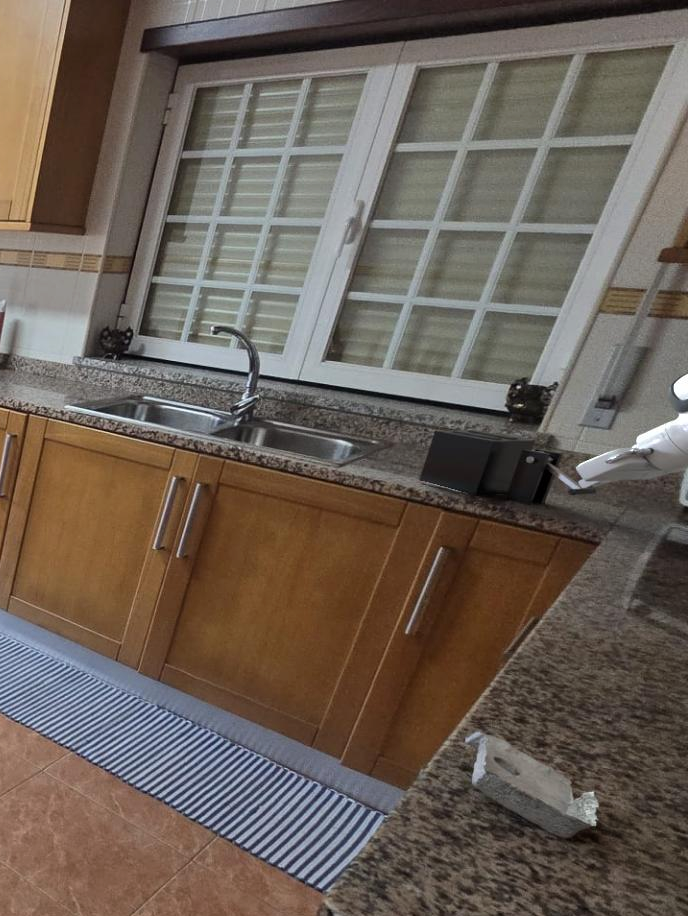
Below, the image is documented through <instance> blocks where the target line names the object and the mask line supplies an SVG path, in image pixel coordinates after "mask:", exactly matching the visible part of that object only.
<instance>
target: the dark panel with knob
mask: <svg viewBox="0 0 688 916" xmlns="http://www.w3.org/2000/svg"><path fill="white" fill-rule="evenodd" d="M537 451H543V452H544V453H543V452H537ZM563 455H564V453H562V452H558V451H551V450H546V449H541V448H535V450H533V449H532V450H526V449H525V450H522V453H521V456H520V458H519V461H518V464H517V467H516V470H515V472H514V475H513V478H512V481H511V484H510V486H509V489H508V492H507V495H505V497H504V500H506V501H510V502H514V503H518V504H521V505H526V506H532V504H533V503H534V504H537V505H545V503H546V500H547V498H548V495H549V492H550V489H551V487H552V484H553V482H554V479H555V477H556V476H555V475H554V474H552V473H551V472H550V471H548V470H547V469H546V468H545V467H546V464H547V461H548V458H549V456H550V457H551V458H552V459H554V460H553V461H552V462H550V463H551V464H552V465H554V466H555V467H556V468H558V469H559V466H560V463H561V461H562V458H563Z"/></svg>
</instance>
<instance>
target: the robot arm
mask: <svg viewBox="0 0 688 916" xmlns="http://www.w3.org/2000/svg"><path fill="white" fill-rule="evenodd" d="M667 392H668V393H667V400H668V402H669V404H670V406H671V407H672V410H674V411H675V412H677V414H678V417H677V418H676V419H673V420H671V421H668V422H665V423H664V424H661V425H659V426H657V427H654V428H652V429H649V430H648V431H645V432H644V433H641V434H639V435H638V436H637V437H636V444H634V445H632V447H622V448H616V449H614V450H611V451H608V452H605V453H602V454H600V455H598V456H595V457H593V458H590V459H588V460H586V461H583V462H581V463H579V464H578V465H577V466H576V467H575V470H576V472H577V474H578V475H579V476H580V477H581V478H582V479H580V480H579V481H578V482H577V483H578V484H579V485H580V486H581V487H582V488H594V489H596V488H597V487H599V486H602V485H605V484H610V483H613V482H616V481H635V480H636V481H637V480H651V479H655V478H659V477H663V476H665V475H668V474H674V473H678V472H680V471H684V470H686V469H688V371H687V372H685V373H684V374H682V375H680V376H678V377H677V378H676V379H675V380H674V381H673V382H672V383H671V385H670V387H669V388H668V391H667Z"/></svg>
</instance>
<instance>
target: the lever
mask: <svg viewBox="0 0 688 916" xmlns="http://www.w3.org/2000/svg"><path fill="white" fill-rule="evenodd" d="M537 452H543V451H537ZM543 453H544V452H543ZM553 460H554V459H552V458H551V457H550V456H549V458H548V461H547V464H546V467H545V468H546V469H547V470H548V471H550V472H551V473H552V474H554V475H555V477H556V478H557V479H558V480H560V481H561V482H563V483H564V484H565V485H566V486H568V487H569V488H570V489H569V490H568V495H569V496H583V495H585V496H587V495H594V494H596V493H597V489H596V488H582V487H581V486H580V485H579V483H578V482H577V481H575V480H574V479H572V478H571V477H569V476H568V475H567V474H566V473H565V472H564V471H562V470H560V469H559V467H558V468H556V467H555V466H554V465H552V464H551V463H550V462H552V461H553Z"/></svg>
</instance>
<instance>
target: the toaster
mask: <svg viewBox="0 0 688 916" xmlns="http://www.w3.org/2000/svg"><path fill="white" fill-rule="evenodd" d="M535 443H536V439H530V438H525V437H524V438H523V437H519V436H514V435H513V436H512V435H507V434H501V433H495V432H491V431H490V432H489V431H484V430H478V429H458V430H455V429H452V430H434V432H433V436H432V439H431V442H430V445H429V448H428V451H427V454H426V457H425V461H424V463H423V467H422V470H421V473H420V476H419V479H418V481H419V480H420V481H425V482H429V483H433V484H437V485H440V486H444V487H448V488H451V489H455V490H458V491H461V492H465V493H468V494H470V495H469V496H472V495H473V497H480V496H479V495H487V496H500V495H499V494H507V492H508V489H509V486H510V484H511V481H512V478H513V475H514V472H515V470H516V467H517V464H518V461H519V458H520V456H521V453H522V450H525V449H526V450H532V451H533V448H534V445H535ZM468 494H467V495H468ZM497 494H498V495H497Z"/></svg>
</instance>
